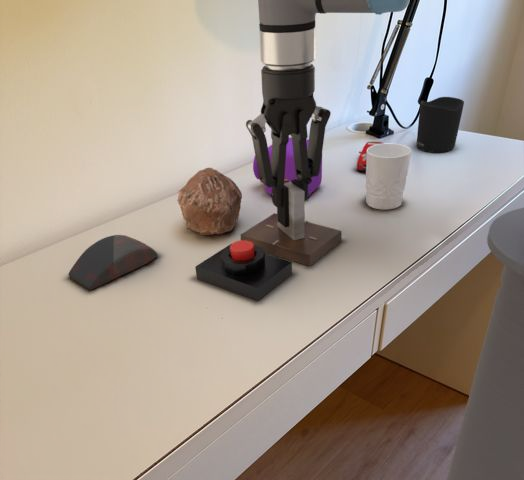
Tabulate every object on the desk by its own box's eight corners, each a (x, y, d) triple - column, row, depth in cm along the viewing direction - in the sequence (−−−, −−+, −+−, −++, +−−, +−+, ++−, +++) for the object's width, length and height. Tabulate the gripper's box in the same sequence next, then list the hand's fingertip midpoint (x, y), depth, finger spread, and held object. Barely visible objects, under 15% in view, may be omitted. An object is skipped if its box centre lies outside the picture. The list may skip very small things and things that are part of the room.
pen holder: (416, 139, 129) (422, 96, 123) (456, 141, 127) (464, 97, 121) (412, 152, 123) (418, 106, 116) (455, 154, 120) (463, 108, 114)
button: (259, 254, 80) (258, 243, 79) (244, 264, 78) (244, 253, 77) (240, 248, 82) (240, 238, 81) (226, 258, 80) (225, 247, 79)
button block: (292, 274, 82) (292, 251, 80) (257, 301, 77) (256, 277, 74) (232, 255, 88) (230, 233, 86) (196, 278, 83) (193, 256, 80)
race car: (379, 175, 113) (381, 156, 110) (354, 173, 114) (355, 155, 112) (387, 154, 122) (389, 136, 120) (364, 153, 124) (365, 135, 121)
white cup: (376, 214, 97) (381, 160, 91) (355, 199, 103) (358, 147, 97) (413, 206, 100) (420, 152, 93) (389, 191, 105) (395, 140, 99)
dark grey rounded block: (163, 259, 88) (159, 237, 86) (92, 293, 81) (86, 270, 78) (135, 245, 93) (130, 224, 90) (66, 276, 85) (58, 254, 83)
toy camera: (262, 178, 115) (260, 130, 108) (324, 182, 111) (325, 133, 105) (246, 197, 107) (243, 147, 100) (312, 203, 103) (312, 151, 97)
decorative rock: (192, 211, 103) (185, 159, 97) (249, 212, 101) (245, 160, 95) (173, 242, 93) (164, 187, 87) (235, 244, 91) (230, 188, 85)
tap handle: (304, 237, 87) (304, 189, 82) (294, 240, 87) (293, 192, 81) (287, 224, 92) (286, 177, 86) (277, 227, 91) (275, 180, 86)
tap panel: (341, 241, 90) (342, 229, 89) (309, 266, 84) (309, 254, 82) (275, 223, 97) (274, 212, 96) (240, 245, 91) (239, 233, 89)
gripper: (320, 53, 78) (318, 204, 93) (227, 67, 74) (240, 224, 88) (348, 60, 73) (341, 219, 88) (249, 76, 68) (259, 241, 83)
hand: (290, 221), depth 88 cm, fingers closed on tap handle, 2 cm apart
